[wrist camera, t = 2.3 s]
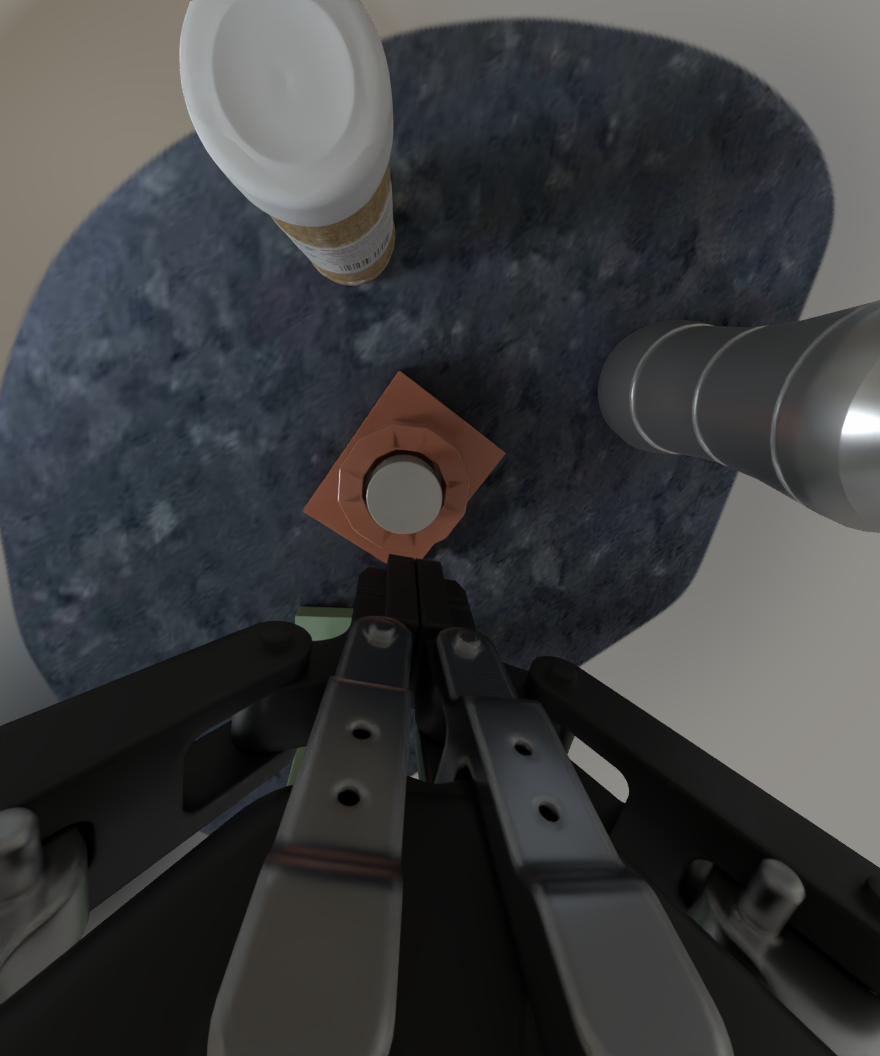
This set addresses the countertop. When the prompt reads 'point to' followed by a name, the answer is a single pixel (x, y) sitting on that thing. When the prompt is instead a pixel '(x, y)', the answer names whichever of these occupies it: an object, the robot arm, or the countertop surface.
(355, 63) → the sprinkles bottle
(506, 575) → the countertop surface
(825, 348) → the grey bottle
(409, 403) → the orange button pad
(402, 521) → the push button
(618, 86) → the countertop surface
